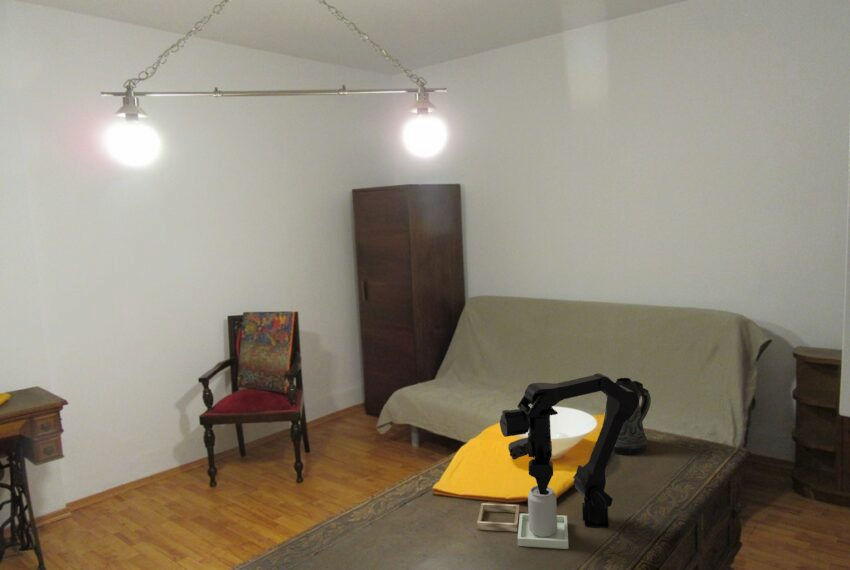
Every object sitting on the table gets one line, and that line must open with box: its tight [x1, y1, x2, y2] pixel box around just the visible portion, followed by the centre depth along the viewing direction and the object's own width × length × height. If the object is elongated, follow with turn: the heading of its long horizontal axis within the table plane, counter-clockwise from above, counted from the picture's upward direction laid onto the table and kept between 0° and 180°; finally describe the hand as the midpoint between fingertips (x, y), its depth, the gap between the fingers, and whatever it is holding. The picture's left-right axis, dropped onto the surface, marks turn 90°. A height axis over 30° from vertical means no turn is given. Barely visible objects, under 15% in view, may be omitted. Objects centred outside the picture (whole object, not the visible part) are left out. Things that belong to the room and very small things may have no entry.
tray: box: [517, 512, 569, 550], centre depth 160 cm, size 13×13×2 cm
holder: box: [476, 502, 520, 533], centre depth 169 cm, size 11×11×2 cm
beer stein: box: [602, 377, 652, 456], centre depth 214 cm, size 16×19×25 cm
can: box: [527, 485, 558, 538], centre depth 160 cm, size 8×8×12 cm
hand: (541, 486), depth 160 cm, fingers open, 9 cm apart
